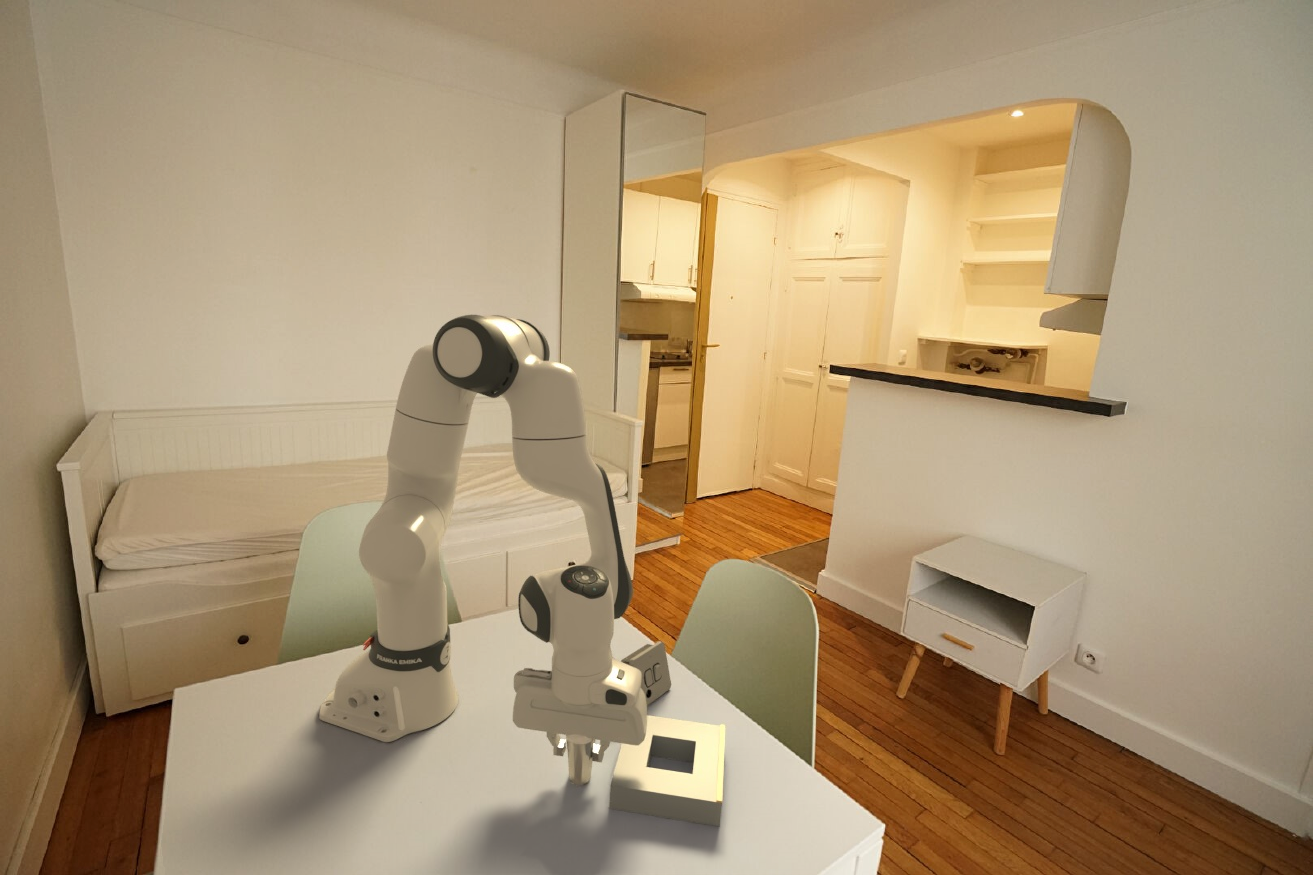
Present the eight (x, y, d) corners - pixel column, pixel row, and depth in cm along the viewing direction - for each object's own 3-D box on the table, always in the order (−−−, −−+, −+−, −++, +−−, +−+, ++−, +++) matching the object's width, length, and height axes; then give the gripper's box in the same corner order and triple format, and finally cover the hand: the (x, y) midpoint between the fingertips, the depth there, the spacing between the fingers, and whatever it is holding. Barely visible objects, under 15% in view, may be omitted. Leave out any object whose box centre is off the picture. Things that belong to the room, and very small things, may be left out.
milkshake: (576, 759, 98) (578, 704, 95) (600, 776, 94) (603, 720, 92) (555, 775, 94) (556, 718, 92) (579, 794, 91) (581, 736, 89)
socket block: (609, 808, 89) (610, 783, 88) (628, 733, 104) (630, 711, 103) (719, 826, 87) (722, 800, 86) (723, 747, 102) (725, 724, 101)
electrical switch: (640, 712, 110) (639, 664, 108) (619, 702, 113) (617, 655, 111) (672, 688, 117) (671, 643, 115) (651, 679, 120) (650, 635, 119)
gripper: (506, 679, 89) (505, 760, 92) (645, 698, 86) (640, 781, 89) (521, 654, 95) (520, 731, 98) (651, 672, 92) (646, 751, 95)
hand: (578, 755), depth 93 cm, fingers open, 5 cm apart
